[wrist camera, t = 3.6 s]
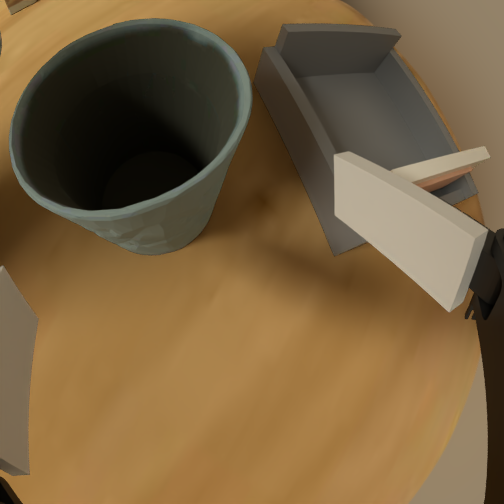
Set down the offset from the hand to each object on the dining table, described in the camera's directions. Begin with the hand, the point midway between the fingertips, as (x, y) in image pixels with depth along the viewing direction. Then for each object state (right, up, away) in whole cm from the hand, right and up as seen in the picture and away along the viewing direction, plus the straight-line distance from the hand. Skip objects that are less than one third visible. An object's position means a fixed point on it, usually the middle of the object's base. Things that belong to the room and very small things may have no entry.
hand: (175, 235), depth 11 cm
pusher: (+14, +4, +13) cm, 20 cm away
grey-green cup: (-4, +3, +11) cm, 12 cm away
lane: (+12, +9, +15) cm, 21 cm away
